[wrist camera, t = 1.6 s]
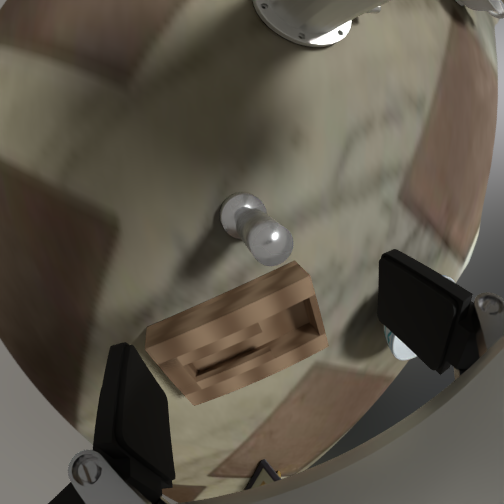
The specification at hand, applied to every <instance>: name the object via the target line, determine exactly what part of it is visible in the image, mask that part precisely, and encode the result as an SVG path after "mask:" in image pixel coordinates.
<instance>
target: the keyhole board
mask: <svg viewBox="0 0 504 504" xmlns="http://www.w3.org/2000/svg"><path fill="white" fill-rule="evenodd" d="M328 346H329V345H328V341H327V337H326V333H325V329H324V325H323V321H322V318H321V314H320V310H319V306H318V302H317V299H316V295H315V291H314V288H313V284H312V281H311V277H310V275H309V274H308V273H307V272H306V271H305V270H304V269H303V268H302V267H301V266H300V265H299V264H298V263H297V262H296V261H293V262H291V263H288V264H286V265H284V266H282V267H280V268H278V269H276V270H274V271H271V272H269V273H267V274H265V275H263V276H261V277H258V278H256V279H254V280H252V281H250V282H248V283H245V284H243V285H241V286H239V287H237V288H234V289H232V290H230V291H228V292H226V293H223V294H221V295H219V296H217V297H215V298H212V299H210V300H208V301H206V302H203V303H201V304H199V305H197V306H194V307H192V308H190V309H188V310H185V311H183V312H181V313H178V314H176V315H174V316H171V317H169V318H167V319H165V320H162V321H160V322H158V323H155V324H153V325H151V326H148V327H147V330H146V342H145V350H146V351H147V352H148V354H149V355H150V356H151V357H152V359H153V360H154V361H155V362H156V364H157V365H158V366H159V367H160V368H161V370H162V371H163V372H164V373H165V374H166V375H167V377H168V378H169V379H170V380H171V381H172V382H173V383H174V385H175V386H176V387H177V388H178V389H179V390H180V391H181V392H182V393H183V394H184V396H185V397H186V398H187V399H188V400H189V401H190V402H191V403H192V404H193V405H194V406H195V405H198V404H201V403H204V402H207V401H209V400H212V399H215V398H217V397H220V396H223V395H225V394H228V393H230V392H233V391H235V390H238V389H240V388H243V387H245V386H247V385H250V384H252V383H254V382H257V381H259V380H261V379H264V378H266V377H268V376H270V375H272V374H275V373H277V372H279V371H281V370H283V369H285V368H287V367H289V366H291V365H293V364H295V363H297V362H299V361H301V360H303V359H305V358H307V357H309V356H311V355H313V354H315V353H317V352H319V351H321V350H323V349H325V348H326V347H328Z"/></svg>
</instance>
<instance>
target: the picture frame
mask: <svg viewBox="0 0 504 504" xmlns="http://www.w3.org/2000/svg"><path fill="white" fill-rule="evenodd" d="M278 480H281V473H280V472H279V471H278V473H276V472H275V471H274V470H273V468H272V467H271V466H270V465H269V463H268V462H267V461H266V460H265V459H264V460H262V461H261V462H260V464H259V466H258V468H257V470H256V471H255V473H254V475H253V477H252V479H251V480H250V482H249V484H248V486H247V487H246V489H245V490H248V489H252V488H255V487H259V486H262V485H265V484H269V483H272V482H275V481H278Z"/></svg>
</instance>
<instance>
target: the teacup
mask: <svg viewBox="0 0 504 504" xmlns="http://www.w3.org/2000/svg"><path fill="white" fill-rule="evenodd" d="M456 2H457V3H458V4H460V5H461V6H464V5H466V6H467V7H468V8H470V9H472V10H478V11H487V12H489V13H490V14H491V15H492V16H494V17H496V18H504V10H503V9H502V5H501V2H500V0H456ZM493 11H496V12H498V13H500V14H497V13H494V12H493Z"/></svg>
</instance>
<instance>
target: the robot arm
mask: <svg viewBox="0 0 504 504" xmlns="http://www.w3.org/2000/svg"><path fill="white" fill-rule="evenodd" d="M389 1H391V0H253V5H254V7H255V9H256V12H257V13H258V15H259V16H260V18H261V19H262V21H263V22H264V23H265V24H266V25H267V26H268V27H269V28H271V29H272V30H273V31H274V32H276V33H277V34H279V35H280V36H282V37H284V38H285V39H287V40H290V41H292V42H294V43H297V44H300V45H304V46H310V47H325V46H330V45H332V44H335V43H337V42H339V41H340V40H342V39H343V38H344V37H345V36H346V35H347V34H348V32H349V30H350V28H351V24H352V20H353V19H354V18H356V17H358V16H360V15H362V14H364V13H379V12H380V9H381V7H380V5H382V4H385V3H387V2H389ZM502 2H503V3H504V0H502ZM471 298H472V293H470V292H468V291H467V290H465V289H464V288H462V287H460V286H459V285H457V284H456V283H454V282H452V281H451V280H449V279H447V278H446V277H444V276H442V275H441V274H439V273H437V272H436V271H434V270H432V269H431V268H429V267H427V266H425V265H424V264H422V263H420V262H418V261H417V260H415V259H413V258H411V257H409V256H408V255H406V254H404V253H402V252H400V251H398V250H396V249H393V250H391V251H389V252H386V253H384V254H383V255H382V256H381V259H380V260H379V290H378V313H377V314H378V318H379V320H380V322H381V323H382V324H383V325H384V326H386V327H387V328H388V329H389V330H390V331H391V332H392V333H393V334H394V335H395V336H396V337H397V338H399V339H400V340H401V341H402V342H403V343H404V344H405V345H406V346H407V347H408V348H409V349H410V350H411V351H412V352H414V353H415V354H416V355H417V356H418V357H419V358H420V359H421V360H422V361H423V362H424V363H425V364H426V365H427V366H428V367H429V368H430V369H432V370H436V371H437V372H438V373H439V374H442V373H443V372H444V371H445V370H447V369H448V368H449V367H450V365H452V366H454V374H455V381H454V382H453V383H451V384H450V385H449V386H448V387H447V388H445V389H444V390H443V391H442V392H440V393H439V394H438V395H437V396H435V397H434V398H433V399H431V400H430V401H429V402H427V403H426V404H425V405H423V406H422V407H421V408H419V409H418V410H416V411H415V412H414V413H412V414H411V415H409V416H408V417H406V418H405V419H403V420H402V421H400V422H399V423H397V424H396V425H394V426H392V427H391V428H389V429H387V430H386V431H384V432H383V433H381V434H379V435H378V436H376V437H374V438H372V439H370V440H369V441H367V442H365V443H363V444H361V445H359V446H358V447H356V448H354V449H352V450H350V451H348V452H346V453H344V454H342V455H340V456H338V457H336V458H333V459H331V460H329V461H327V462H325V463H322V464H320V465H318V466H315V467H313V468H310V469H308V470H305V471H303V472H300V473H298V474H295V475H292V476H290V477H287V478H284V479H281V480H278V481H275V482H272V483H269V484H265V485H262V486H259V487H255V488H252V489H248V490H244V491H240V492H236V493H232V494H227V495H223V496H219V497H214V498H209V499H204V500H198V501H192V502H185V503H178V504H504V299H502V298H501V297H500V296H498V295H496V294H493V293H482V294H479V295H478V296H477V297H476V298H475V301H474V303H473V302H471ZM68 475H69V478H70V481H71V482H70V483H69V484H68V485H67V486H66V487H65V488H64V489H63V490H62V491H61V492H60V493H59V494H58V495H57V496H56V497H55V498H54V499H53V500H52V501H50V502H49V503H48V504H170V503H169V502H168V501H166V500H165V499H164V498H163V497H162V489H163V488H172V487H173V486H172V480H174V479H175V469H174V462H173V454H172V445H171V436H170V425H169V413H168V401H167V397H166V394H165V393H164V391H163V390H162V388H161V387H160V385H159V384H158V382H157V381H156V380H155V378H154V377H153V375H152V374H151V372H150V371H149V369H148V368H147V366H146V365H145V363H144V361H143V360H142V358H141V357H140V355H139V353H138V352H137V350H136V349H135V347H134V346H133V345H129V344H128V343H126V342H124V343H120V344H116V345H112V346H111V347H110V350H109V355H108V359H107V364H106V369H105V374H104V379H103V385H102V388H101V392H100V397H99V404H98V410H97V417H96V425H95V433H94V442H93V450H84V451H81V452H79V453H77V454H76V455H75V456H74V457H73V458H72V460H71V462H70V463H69V467H68Z"/></svg>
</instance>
